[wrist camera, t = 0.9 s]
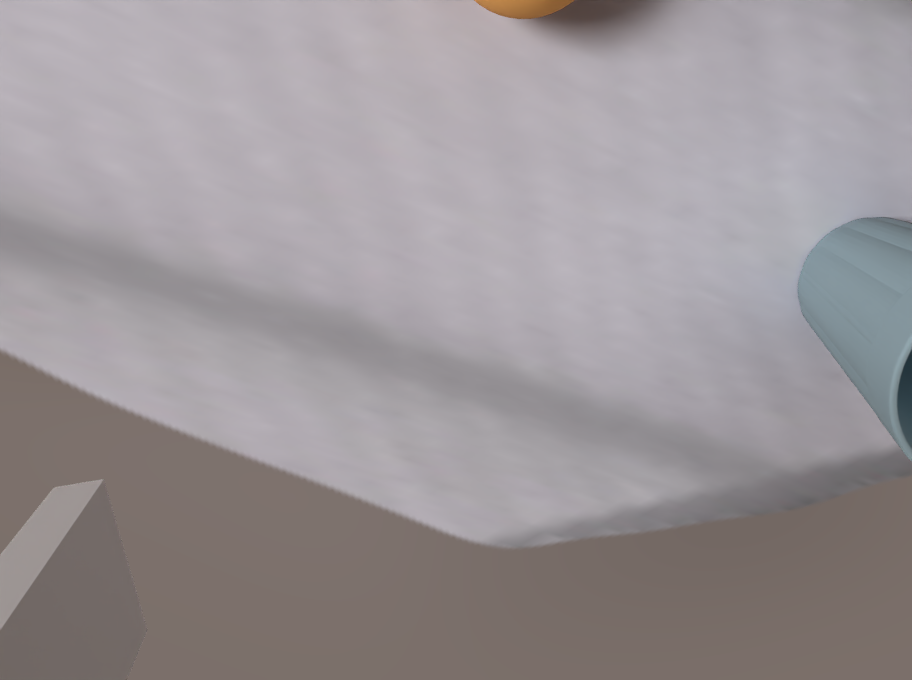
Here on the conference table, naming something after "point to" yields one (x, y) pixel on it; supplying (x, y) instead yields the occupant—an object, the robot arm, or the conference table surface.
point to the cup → (867, 313)
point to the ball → (524, 7)
